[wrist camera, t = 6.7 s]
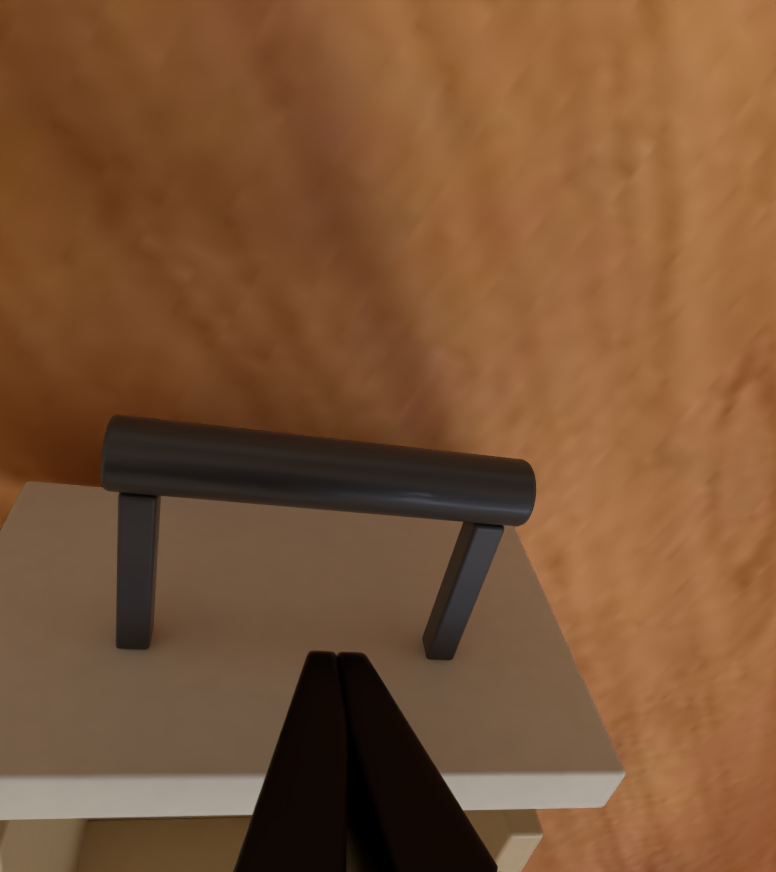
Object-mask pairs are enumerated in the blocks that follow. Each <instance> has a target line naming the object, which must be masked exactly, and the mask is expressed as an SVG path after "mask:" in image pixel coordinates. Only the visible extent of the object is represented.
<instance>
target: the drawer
mask: <svg viewBox="0 0 776 872" xmlns="http://www.w3.org/2000/svg"><path fill="white" fill-rule="evenodd" d="M100 473H101V483H102V486H103V487H92V486H81V485H69V484H58V483H46V482H35V481H27V482H26V483H25V484H24V486H23V488H22V490H21V492H20V494H19V496H18V498H17V500H16V502H15V504H14V505H13V507H12V509H11V511H10V513H9V515H8V517H7V519H6V521H5V523H4V524H3V526H2V528H1V530H0V872H233V870H234V867H235V864H236V861H237V858H238V855H239V852H240V849H241V846H242V843H243V840H244V838H245V835H246V832H247V829H248V826H249V823H250V820H251V817H252V814H253V811H254V808H255V805H256V802H257V800H258V797H259V794H260V791H261V788H262V785H263V782H264V779H265V776H266V773H267V770H268V767H269V764H270V761H271V759H272V756H273V753H274V750H275V747H276V744H277V741H278V738H279V735H280V732H281V729H282V726H283V723H284V720H285V718H286V715H287V712H288V709H289V706H290V703H291V700H292V697H293V694H294V691H295V688H296V685H297V682H298V680H299V677H300V674H301V671H302V668H303V665H304V662H305V659H306V656H307V654H308V652H309V651H312V650H316V651H333V652H334V653H335V654H336V655H337V653H339V652H342V651H343V652H361V653H364V654H365V655H366V656H367V657H368V658H369V660H370V661H371V663H372V665H373V666H374V668H375V670H376V671H377V673H378V674H379V676H380V678H381V679H382V681H383V682H384V684H385V686H386V687H387V689H388V690H389V692H390V694H391V695H392V697H393V698H394V700H395V702H396V703H397V705H398V706H399V708H400V710H401V711H402V713H403V714H404V716H405V718H406V719H407V721H408V723H409V724H410V726H411V727H412V729H413V731H414V732H415V734H416V735H417V737H418V739H419V740H420V742H421V743H422V745H423V747H424V748H425V750H426V751H427V753H428V755H429V756H430V758H431V759H432V761H433V763H434V764H435V766H436V767H437V769H438V771H439V772H440V774H441V776H442V777H443V779H444V780H445V782H446V784H447V785H448V787H449V788H450V790H451V792H452V793H453V795H454V796H455V798H456V800H457V801H458V803H459V804H460V806H461V808H462V809H463V811H464V812H465V814H466V816H467V817H468V819H469V820H470V822H471V824H472V825H473V827H474V829H475V830H476V832H477V833H478V835H479V837H480V838H481V840H482V841H483V843H484V845H485V846H486V848H487V849H488V851H489V853H490V854H491V856H492V857H493V859H494V861H495V862H496V864H497V866H498V870H497V872H521V870H522V869H523V867H524V866H525V864H526V862H527V861H528V859H529V858H530V856H531V854H532V853H533V851H534V850H535V848H536V846H537V845H538V843H539V842H540V840H541V838H542V837H543V831H542V828H541V825H540V822H539V818H538V815H537V812H536V809H552V808H600V807H603V806H604V805H605V804H606V802H607V801H608V799H609V798H610V796H611V795H612V794H613V792H614V791H615V789H616V788H617V786H618V785H619V783H620V782H621V780H622V779H623V777H624V776H625V770H624V768H623V766H622V763H621V761H620V759H619V757H618V755H617V752H616V750H615V748H614V746H613V743H612V741H611V739H610V737H609V735H608V732H607V730H606V728H605V726H604V724H603V721H602V719H601V717H600V715H599V713H598V710H597V708H596V706H595V704H594V702H593V699H592V697H591V695H590V693H589V691H588V688H587V686H586V684H585V682H584V679H583V677H582V675H581V673H580V671H579V668H578V666H577V664H576V662H575V660H574V657H573V655H572V653H571V651H570V649H569V646H568V644H567V642H566V640H565V638H564V635H563V633H562V631H561V629H560V627H559V624H558V622H557V620H556V618H555V615H554V613H553V611H552V609H551V607H550V604H549V602H548V600H547V598H546V596H545V593H544V591H543V589H542V587H541V585H540V582H539V580H538V578H537V576H536V574H535V571H534V569H533V567H532V565H531V563H530V560H529V558H528V556H527V554H526V551H525V549H524V547H523V545H522V543H521V540H520V538H519V536H518V534H517V532H516V529H515V527H514V526H520V525H523V524H524V523H526V522H527V520H528V519H529V517H530V515H531V513H532V511H533V507H534V503H535V497H536V480H535V475H534V471H533V469H532V467H531V465H530V464H529V463H528V462H526V461H525V460H522V459H513V458H504V457H495V456H486V455H477V454H468V453H459V452H450V451H441V450H432V449H423V448H414V447H405V446H396V445H387V444H378V443H369V442H360V441H351V440H342V439H333V438H324V437H315V436H306V435H297V434H288V433H279V432H270V431H261V430H252V429H243V428H235V427H226V426H217V425H208V424H199V423H190V422H181V421H172V420H163V419H154V418H145V417H136V416H127V415H114V416H112V418H111V419H110V421H109V423H108V426H107V429H106V432H105V436H104V441H103V447H102V455H101V470H100Z"/></svg>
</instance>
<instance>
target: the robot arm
mask: <svg viewBox="0 0 776 872" xmlns="http://www.w3.org/2000/svg"><path fill="white" fill-rule="evenodd" d="M497 870H498V866H497V864H496V862H495V861H494V859H493V857H492V856H491V854H490V853H489V851H488V849H487V848H486V846H485V845H484V843H483V841H482V840H481V838H480V837H479V835H478V833H477V832H476V830H475V829H474V827H473V825H472V824H471V822H470V820H469V819H468V817H467V816H466V814H465V812H464V811H463V809H462V808H461V806H460V804H459V803H458V801H457V800H456V798H455V796H454V795H453V793H452V792H451V790H450V788H449V787H448V785H447V784H446V782H445V780H444V779H443V777H442V776H441V774H440V772H439V771H438V769H437V767H436V766H435V764H434V763H433V761H432V759H431V758H430V756H429V755H428V753H427V751H426V750H425V748H424V747H423V745H422V743H421V742H420V740H419V739H418V737H417V735H416V734H415V732H414V731H413V729H412V727H411V726H410V724H409V723H408V721H407V719H406V718H405V716H404V714H403V713H402V711H401V710H400V708H399V706H398V705H397V703H396V702H395V700H394V698H393V697H392V695H391V694H390V692H389V690H388V689H387V687H386V686H385V684H384V682H383V681H382V679H381V678H380V676H379V674H378V673H377V671H376V670H375V668H374V666H373V665H372V663H371V661H370V660H369V658H368V657H367V656H366V655H365V654H364V653H361V652H343V651H342V652H339V653H337V655H336V654H335V653H334V652H333V651H316V650H312V651H309V652H308V654H307V656H306V659H305V662H304V665H303V668H302V671H301V674H300V677H299V680H298V682H297V685H296V688H295V691H294V694H293V697H292V700H291V703H290V706H289V709H288V712H287V715H286V718H285V720H284V723H283V726H282V729H281V732H280V735H279V738H278V741H277V744H276V747H275V750H274V753H273V756H272V759H271V761H270V764H269V767H268V770H267V773H266V776H265V779H264V782H263V785H262V788H261V791H260V794H259V797H258V800H257V802H256V805H255V808H254V811H253V814H252V817H251V820H250V823H249V826H248V829H247V832H246V835H245V838H244V840H243V843H242V846H241V849H240V852H239V855H238V858H237V861H236V864H235V867H234V870H233V872H497Z"/></svg>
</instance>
